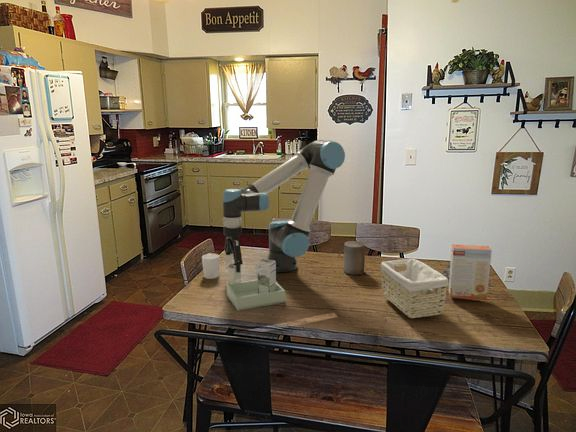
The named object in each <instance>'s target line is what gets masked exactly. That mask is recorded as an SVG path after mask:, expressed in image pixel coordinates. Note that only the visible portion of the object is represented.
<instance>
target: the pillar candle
mask: <svg viewBox="0 0 576 432" xmlns="http://www.w3.org/2000/svg"><path fill="white" fill-rule="evenodd" d="M343 252H344V254H343V271H344V272H345V273H346V274H348V275H362V274H364V273H365V258H366V255H365V254H366V244H365V242H363V241H358V240H351V241H350V240H349V241H346V242H344V251H343Z"/></svg>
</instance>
